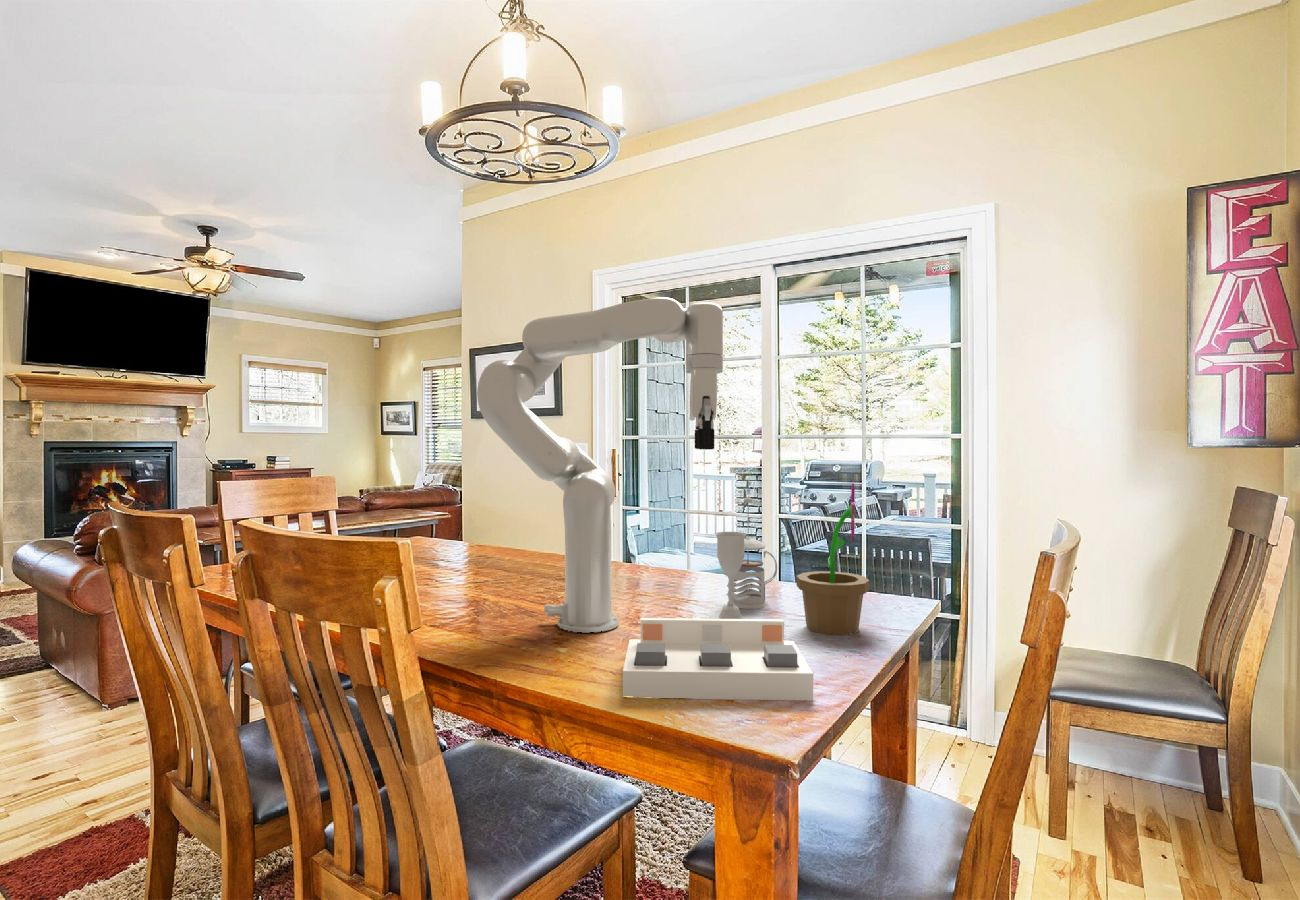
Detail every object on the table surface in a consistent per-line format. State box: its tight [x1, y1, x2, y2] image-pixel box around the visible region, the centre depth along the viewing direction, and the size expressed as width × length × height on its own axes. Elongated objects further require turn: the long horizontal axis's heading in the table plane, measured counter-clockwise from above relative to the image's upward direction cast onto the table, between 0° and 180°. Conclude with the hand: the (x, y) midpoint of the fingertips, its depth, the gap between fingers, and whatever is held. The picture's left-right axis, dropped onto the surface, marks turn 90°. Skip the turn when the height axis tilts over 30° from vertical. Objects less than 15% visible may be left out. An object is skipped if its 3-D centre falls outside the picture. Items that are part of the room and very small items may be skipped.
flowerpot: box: [796, 481, 870, 636], centre depth 137 cm, size 14×14×30 cm
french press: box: [726, 496, 778, 610], centre depth 157 cm, size 10×12×25 cm
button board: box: [622, 617, 814, 702], centre depth 107 cm, size 28×16×8 cm, turn 88°
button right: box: [764, 645, 797, 668], centre depth 103 cm, size 4×4×3 cm
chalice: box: [714, 531, 748, 619], centre depth 145 cm, size 7×7×18 cm
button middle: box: [701, 644, 731, 667], centre depth 104 cm, size 4×4×3 cm
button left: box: [636, 643, 665, 666], centre depth 104 cm, size 4×4×3 cm
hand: (704, 449), depth 137 cm, fingers open, 9 cm apart
